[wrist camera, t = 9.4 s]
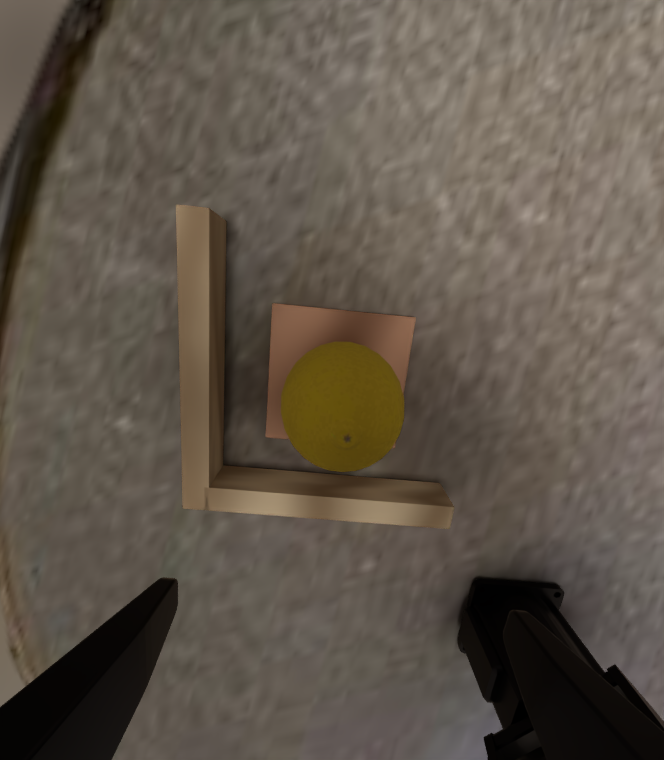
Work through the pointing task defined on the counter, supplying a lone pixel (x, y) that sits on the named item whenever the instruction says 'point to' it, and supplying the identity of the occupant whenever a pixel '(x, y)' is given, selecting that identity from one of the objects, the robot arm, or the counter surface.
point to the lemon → (342, 406)
